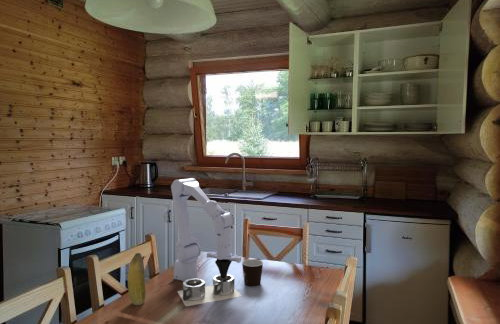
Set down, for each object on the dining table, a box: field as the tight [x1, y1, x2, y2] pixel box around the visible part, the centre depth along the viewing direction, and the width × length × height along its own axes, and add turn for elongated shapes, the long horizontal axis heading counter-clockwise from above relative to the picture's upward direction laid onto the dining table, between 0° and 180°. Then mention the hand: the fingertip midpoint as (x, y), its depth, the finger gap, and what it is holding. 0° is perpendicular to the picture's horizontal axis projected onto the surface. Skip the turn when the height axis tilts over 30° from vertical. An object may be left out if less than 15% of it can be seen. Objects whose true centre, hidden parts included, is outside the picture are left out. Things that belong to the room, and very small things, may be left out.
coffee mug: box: [241, 258, 264, 288], centre depth 159 cm, size 12×9×10 cm
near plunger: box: [189, 280, 199, 286], centre depth 145 cm, size 5×5×4 cm
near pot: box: [182, 277, 206, 301], centre depth 144 cm, size 8×11×5 cm
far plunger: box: [219, 276, 228, 281], centre depth 150 cm, size 5×5×4 cm
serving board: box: [176, 284, 242, 307], centre depth 148 cm, size 22×14×1 cm, turn 113°
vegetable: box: [127, 252, 146, 306], centre depth 139 cm, size 6×6×20 cm
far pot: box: [212, 273, 235, 296], centre depth 149 cm, size 8×11×5 cm
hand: (223, 277), depth 150 cm, fingers closed, pressing on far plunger
